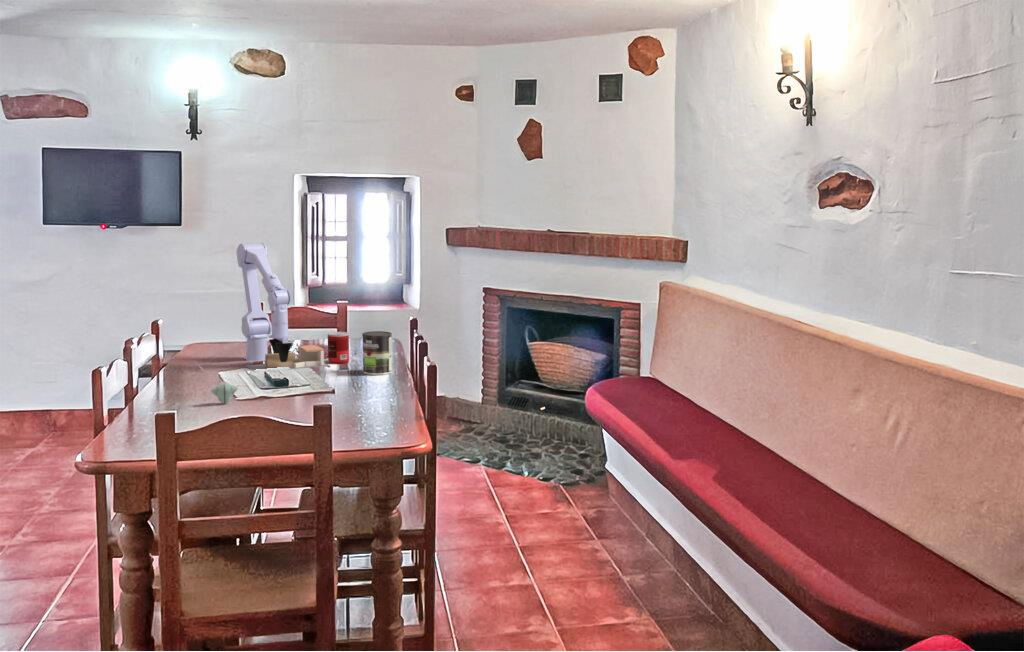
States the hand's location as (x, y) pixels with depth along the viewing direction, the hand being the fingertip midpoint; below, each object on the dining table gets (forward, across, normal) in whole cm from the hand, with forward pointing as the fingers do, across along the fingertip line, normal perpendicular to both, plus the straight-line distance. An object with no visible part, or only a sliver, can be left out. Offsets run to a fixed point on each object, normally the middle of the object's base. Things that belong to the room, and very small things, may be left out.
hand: (280, 360), depth 335 cm
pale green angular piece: (+3, +48, -30) cm, 57 cm away
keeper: (+3, 0, +2) cm, 4 cm away
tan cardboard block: (+2, 0, 0) cm, 2 cm away
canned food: (+3, -1, +22) cm, 22 cm away
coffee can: (+3, +24, +28) cm, 37 cm away
